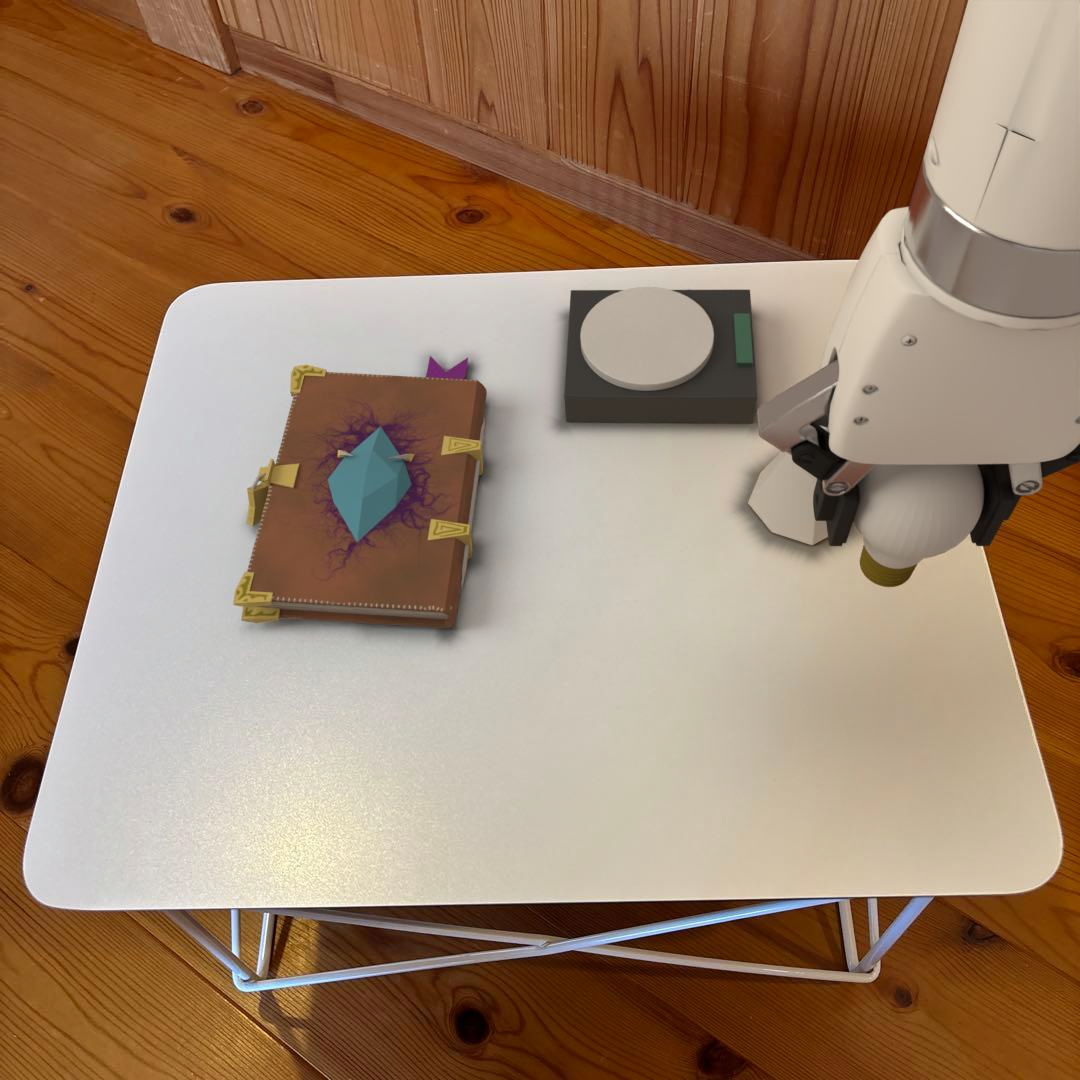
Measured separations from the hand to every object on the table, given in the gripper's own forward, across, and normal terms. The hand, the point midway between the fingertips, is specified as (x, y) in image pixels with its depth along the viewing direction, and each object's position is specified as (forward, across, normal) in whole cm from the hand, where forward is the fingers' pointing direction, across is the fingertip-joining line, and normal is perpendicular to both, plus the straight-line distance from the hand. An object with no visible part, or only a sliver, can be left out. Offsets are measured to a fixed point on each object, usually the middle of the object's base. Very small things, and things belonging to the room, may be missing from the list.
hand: (904, 518), depth 49 cm
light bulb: (+5, 0, 0) cm, 5 cm away
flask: (+20, +1, -14) cm, 24 cm away
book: (+19, +32, -16) cm, 41 cm away
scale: (+19, +10, -27) cm, 35 cm away
